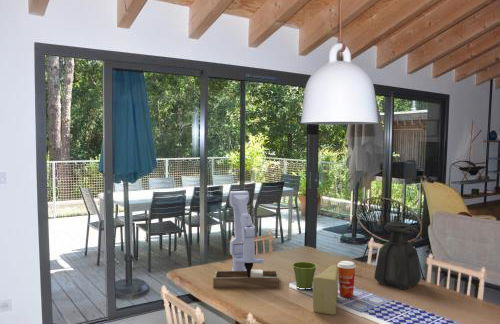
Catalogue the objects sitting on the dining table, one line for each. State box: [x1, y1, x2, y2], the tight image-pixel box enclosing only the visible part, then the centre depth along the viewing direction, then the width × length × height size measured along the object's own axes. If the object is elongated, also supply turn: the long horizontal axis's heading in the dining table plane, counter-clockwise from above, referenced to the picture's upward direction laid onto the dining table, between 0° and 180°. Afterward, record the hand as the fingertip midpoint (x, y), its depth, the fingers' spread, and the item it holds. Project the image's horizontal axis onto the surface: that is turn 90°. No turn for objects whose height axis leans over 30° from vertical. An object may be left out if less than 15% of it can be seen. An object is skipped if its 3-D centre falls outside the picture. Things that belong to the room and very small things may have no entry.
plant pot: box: [292, 261, 318, 289], centre depth 205 cm, size 12×12×11 cm
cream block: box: [251, 269, 264, 278], centre depth 212 cm, size 6×6×4 cm
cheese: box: [312, 264, 339, 316], centre depth 184 cm, size 22×10×15 cm, turn 156°
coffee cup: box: [336, 260, 357, 298], centre depth 195 cm, size 8×8×15 cm
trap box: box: [212, 270, 280, 288], centre depth 212 cm, size 12×32×4 cm, turn 90°
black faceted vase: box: [373, 221, 422, 291], centre depth 210 cm, size 18×16×30 cm
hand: (248, 277), depth 212 cm, fingers closed
